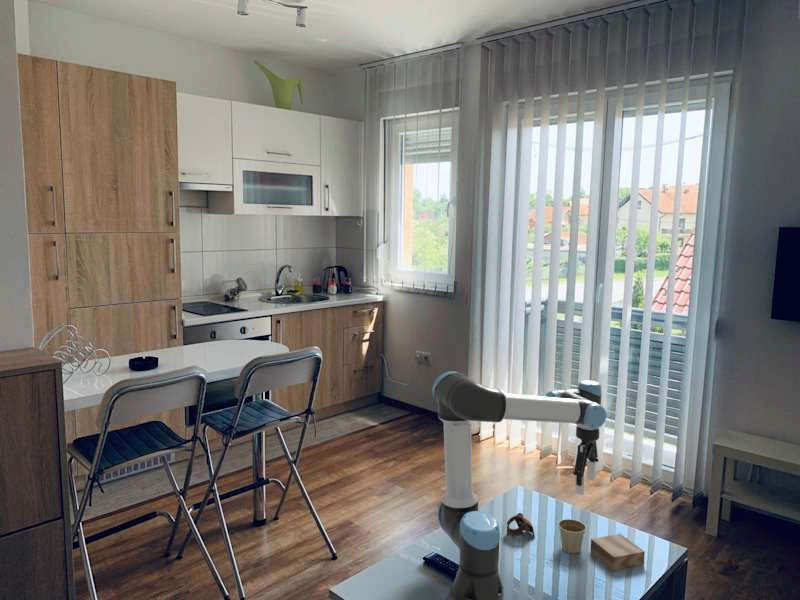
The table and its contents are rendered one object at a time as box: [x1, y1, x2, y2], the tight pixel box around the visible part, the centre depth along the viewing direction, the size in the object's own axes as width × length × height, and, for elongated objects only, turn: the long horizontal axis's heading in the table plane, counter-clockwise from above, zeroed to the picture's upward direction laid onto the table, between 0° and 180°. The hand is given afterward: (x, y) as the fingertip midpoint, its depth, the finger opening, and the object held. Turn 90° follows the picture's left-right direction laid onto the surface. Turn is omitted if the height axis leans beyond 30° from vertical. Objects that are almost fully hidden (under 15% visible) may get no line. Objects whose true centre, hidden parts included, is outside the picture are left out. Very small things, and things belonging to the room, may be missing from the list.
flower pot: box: [557, 518, 587, 554], centre depth 204 cm, size 9×9×9 cm
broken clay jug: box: [506, 512, 536, 539], centre depth 214 cm, size 12×10×8 cm
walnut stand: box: [590, 533, 645, 573], centre depth 199 cm, size 12×12×5 cm
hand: (585, 486), depth 203 cm, fingers open, 13 cm apart
